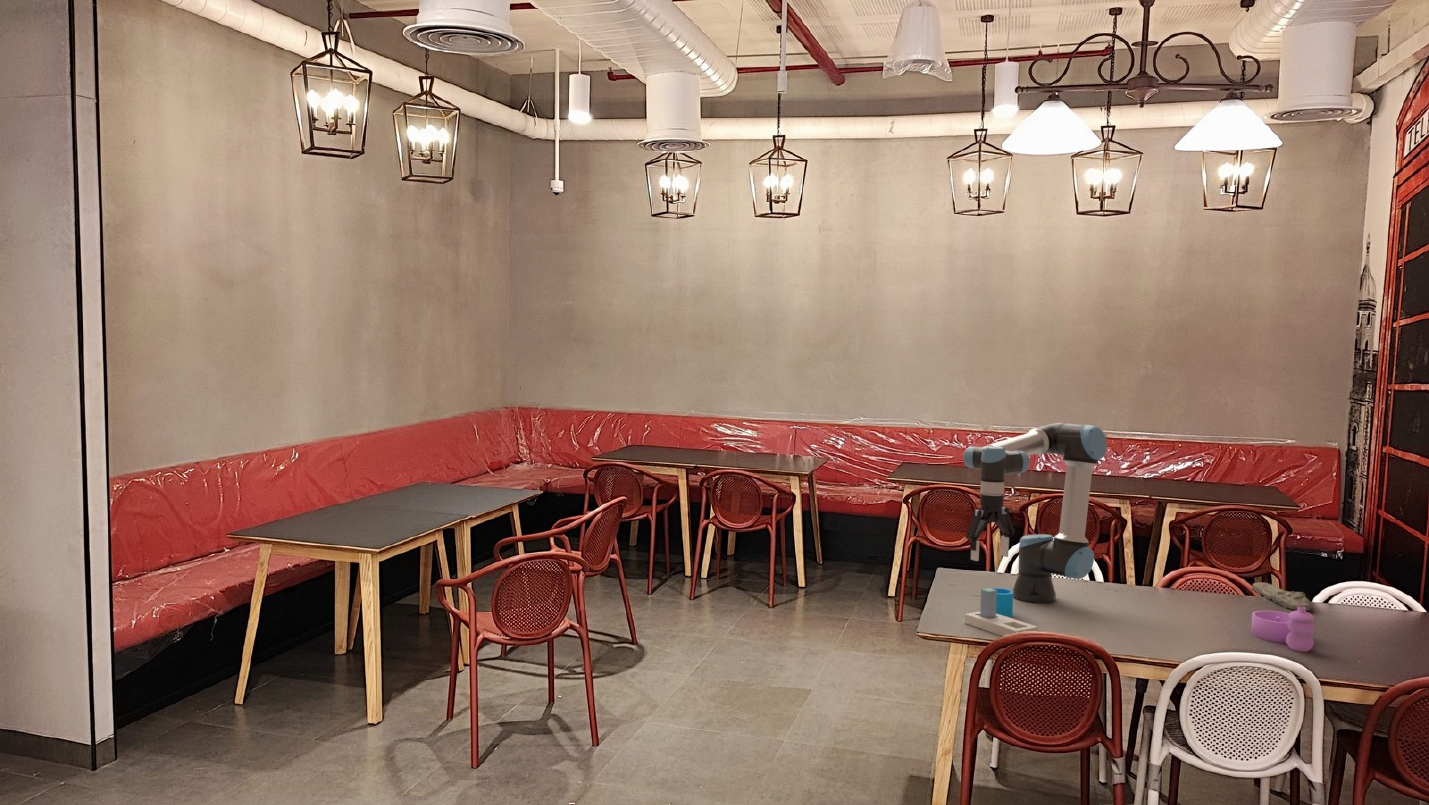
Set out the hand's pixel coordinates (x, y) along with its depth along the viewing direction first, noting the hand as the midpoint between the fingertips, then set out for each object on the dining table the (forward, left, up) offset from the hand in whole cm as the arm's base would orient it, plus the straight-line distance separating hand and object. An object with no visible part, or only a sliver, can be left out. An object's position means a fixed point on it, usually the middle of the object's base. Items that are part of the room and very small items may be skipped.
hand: (989, 558), depth 334 cm
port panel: (0, +6, -22) cm, 23 cm away
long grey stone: (-122, +28, -23) cm, 127 cm away
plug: (0, 0, -22) cm, 22 cm away
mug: (-15, -8, -23) cm, 29 cm away
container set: (-72, +58, -23) cm, 95 cm away
